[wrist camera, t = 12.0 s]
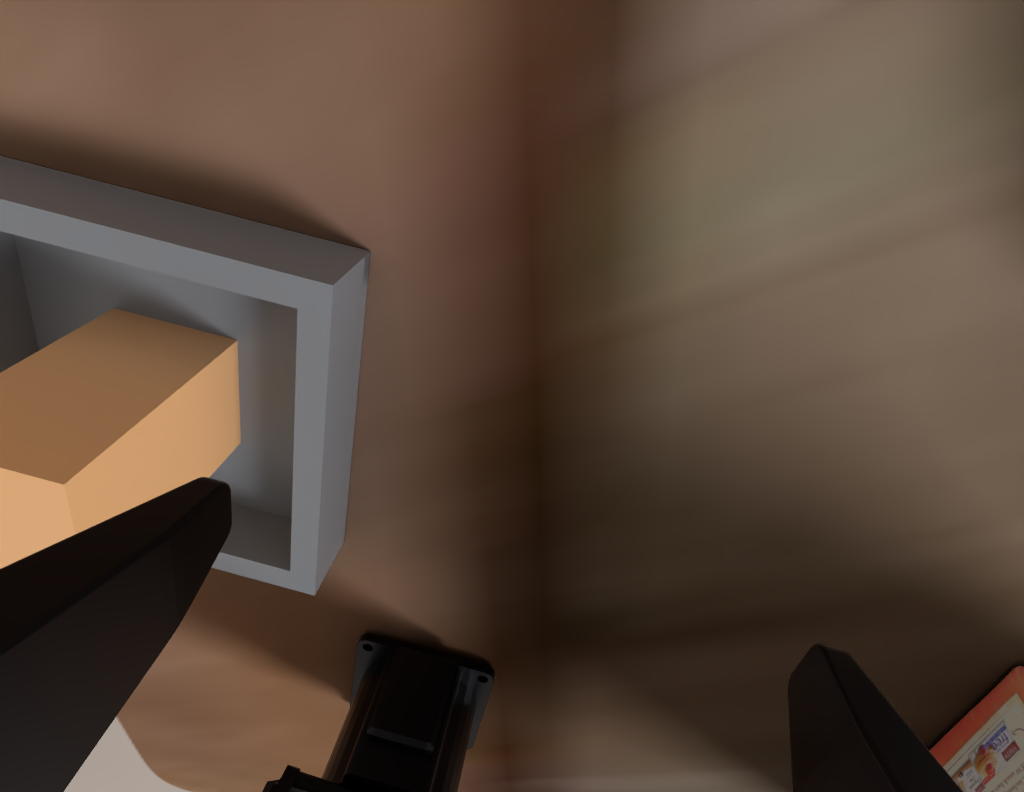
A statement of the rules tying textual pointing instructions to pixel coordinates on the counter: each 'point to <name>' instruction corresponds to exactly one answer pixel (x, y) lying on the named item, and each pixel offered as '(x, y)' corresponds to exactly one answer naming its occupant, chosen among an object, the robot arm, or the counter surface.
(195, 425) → the plain tan block
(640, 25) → the counter surface
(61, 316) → the block holder
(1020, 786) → the cracker box
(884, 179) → the counter surface
